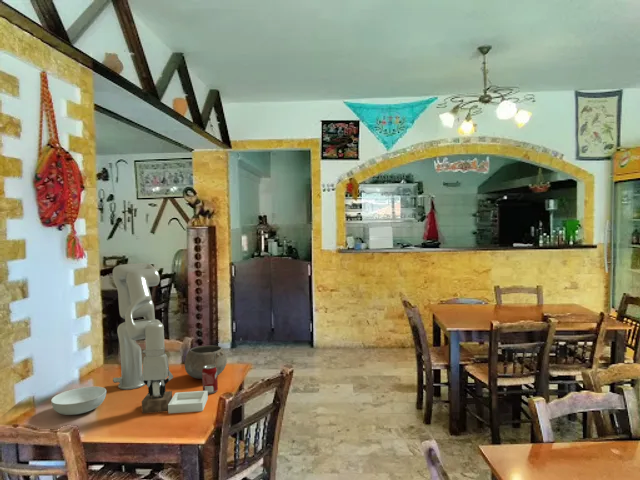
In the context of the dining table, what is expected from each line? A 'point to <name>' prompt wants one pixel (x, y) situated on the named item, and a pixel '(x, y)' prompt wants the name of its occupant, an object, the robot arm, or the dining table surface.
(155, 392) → the metal pin
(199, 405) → the grey tray
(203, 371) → the soda can
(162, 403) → the walnut block
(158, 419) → the dining table surface
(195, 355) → the clay pot
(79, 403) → the serving bowl
